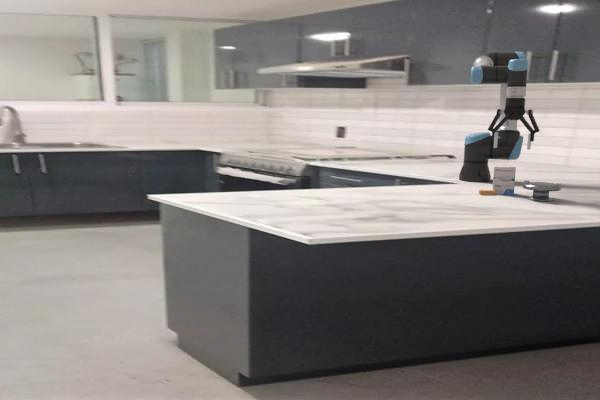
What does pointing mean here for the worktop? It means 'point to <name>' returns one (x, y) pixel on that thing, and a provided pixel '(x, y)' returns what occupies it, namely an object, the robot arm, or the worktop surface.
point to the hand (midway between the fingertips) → (511, 148)
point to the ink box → (504, 180)
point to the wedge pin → (486, 192)
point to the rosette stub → (541, 190)
